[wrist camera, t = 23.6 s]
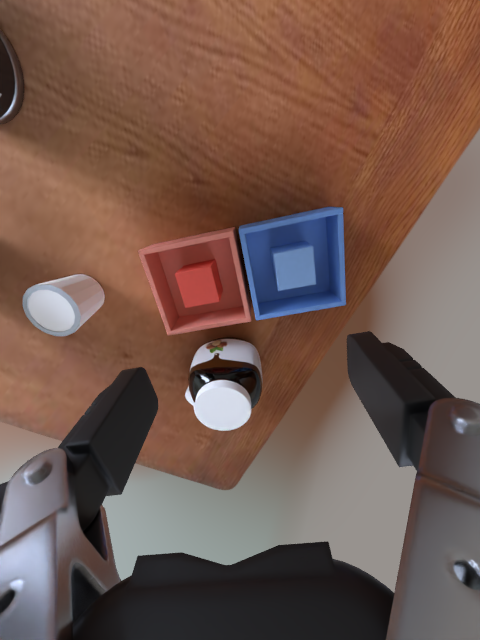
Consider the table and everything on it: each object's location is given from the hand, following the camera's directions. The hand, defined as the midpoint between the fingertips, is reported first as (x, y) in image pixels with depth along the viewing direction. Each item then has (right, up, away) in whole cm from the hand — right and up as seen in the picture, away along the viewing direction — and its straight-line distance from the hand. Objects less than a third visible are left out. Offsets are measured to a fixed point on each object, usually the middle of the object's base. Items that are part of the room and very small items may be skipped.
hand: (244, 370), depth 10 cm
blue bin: (+6, +10, +24) cm, 27 cm away
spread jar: (-3, -5, +31) cm, 32 cm away
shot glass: (-23, +6, +27) cm, 36 cm away
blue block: (+6, +10, +23) cm, 26 cm away
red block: (-5, +8, +25) cm, 26 cm away
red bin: (-5, +8, +25) cm, 27 cm away
